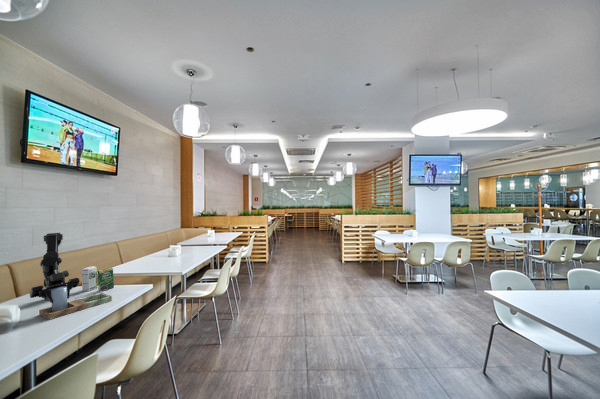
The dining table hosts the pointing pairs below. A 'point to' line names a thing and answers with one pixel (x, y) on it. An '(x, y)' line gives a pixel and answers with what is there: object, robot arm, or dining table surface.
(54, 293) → the canister
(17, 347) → the dining table surface
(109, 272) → the coffee box
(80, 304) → the caddy
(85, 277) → the syrup box
